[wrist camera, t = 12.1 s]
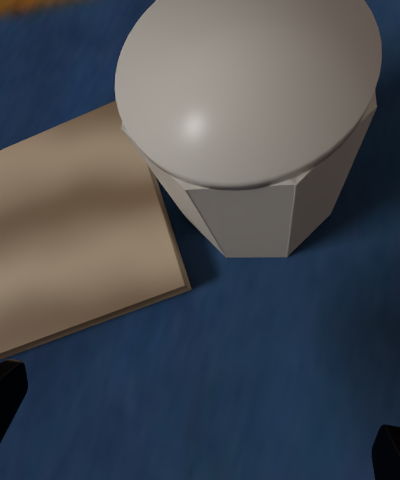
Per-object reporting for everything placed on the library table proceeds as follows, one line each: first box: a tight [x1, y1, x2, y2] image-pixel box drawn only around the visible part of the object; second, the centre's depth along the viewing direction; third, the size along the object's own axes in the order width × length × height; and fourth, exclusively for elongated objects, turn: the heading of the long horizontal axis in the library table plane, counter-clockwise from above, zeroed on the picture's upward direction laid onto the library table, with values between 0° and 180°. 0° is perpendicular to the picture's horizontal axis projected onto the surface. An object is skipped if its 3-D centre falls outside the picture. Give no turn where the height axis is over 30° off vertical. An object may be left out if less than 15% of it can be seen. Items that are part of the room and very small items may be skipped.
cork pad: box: [0, 101, 192, 359], centre depth 21 cm, size 12×12×2 cm
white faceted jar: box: [115, 0, 382, 258], centre depth 15 cm, size 8×8×10 cm
